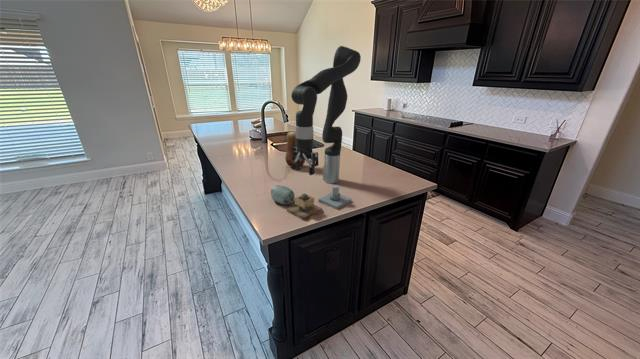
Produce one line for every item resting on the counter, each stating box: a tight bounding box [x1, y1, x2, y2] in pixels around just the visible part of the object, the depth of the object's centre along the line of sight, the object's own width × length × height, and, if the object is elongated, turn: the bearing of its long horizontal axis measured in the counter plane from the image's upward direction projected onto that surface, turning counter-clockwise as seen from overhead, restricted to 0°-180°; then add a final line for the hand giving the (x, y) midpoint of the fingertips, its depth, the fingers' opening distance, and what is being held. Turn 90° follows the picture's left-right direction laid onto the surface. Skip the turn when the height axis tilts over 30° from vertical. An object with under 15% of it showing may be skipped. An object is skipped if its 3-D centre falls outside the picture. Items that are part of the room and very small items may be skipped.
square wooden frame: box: [294, 195, 315, 208], centre depth 118 cm, size 6×6×3 cm
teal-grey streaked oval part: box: [270, 185, 296, 206], centre depth 128 cm, size 14×10×10 cm
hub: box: [318, 184, 352, 210], centre depth 129 cm, size 12×12×8 cm
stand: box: [286, 193, 323, 221], centre depth 119 cm, size 12×12×8 cm
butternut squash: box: [284, 130, 306, 169], centre depth 173 cm, size 14×13×25 cm
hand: (304, 172), depth 113 cm, fingers open, 8 cm apart
